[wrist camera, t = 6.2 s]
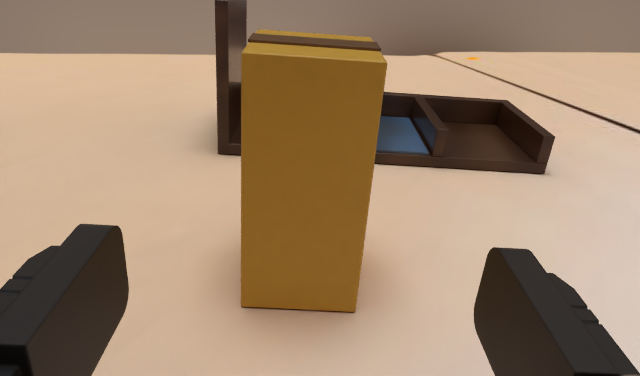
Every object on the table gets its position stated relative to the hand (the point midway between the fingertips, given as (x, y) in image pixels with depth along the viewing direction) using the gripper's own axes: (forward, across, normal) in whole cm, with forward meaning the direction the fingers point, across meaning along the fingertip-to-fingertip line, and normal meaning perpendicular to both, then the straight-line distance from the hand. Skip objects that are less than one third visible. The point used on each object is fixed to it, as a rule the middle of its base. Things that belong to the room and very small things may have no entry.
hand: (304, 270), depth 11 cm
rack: (+27, -6, +7) cm, 28 cm away
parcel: (+9, 0, +7) cm, 11 cm away
